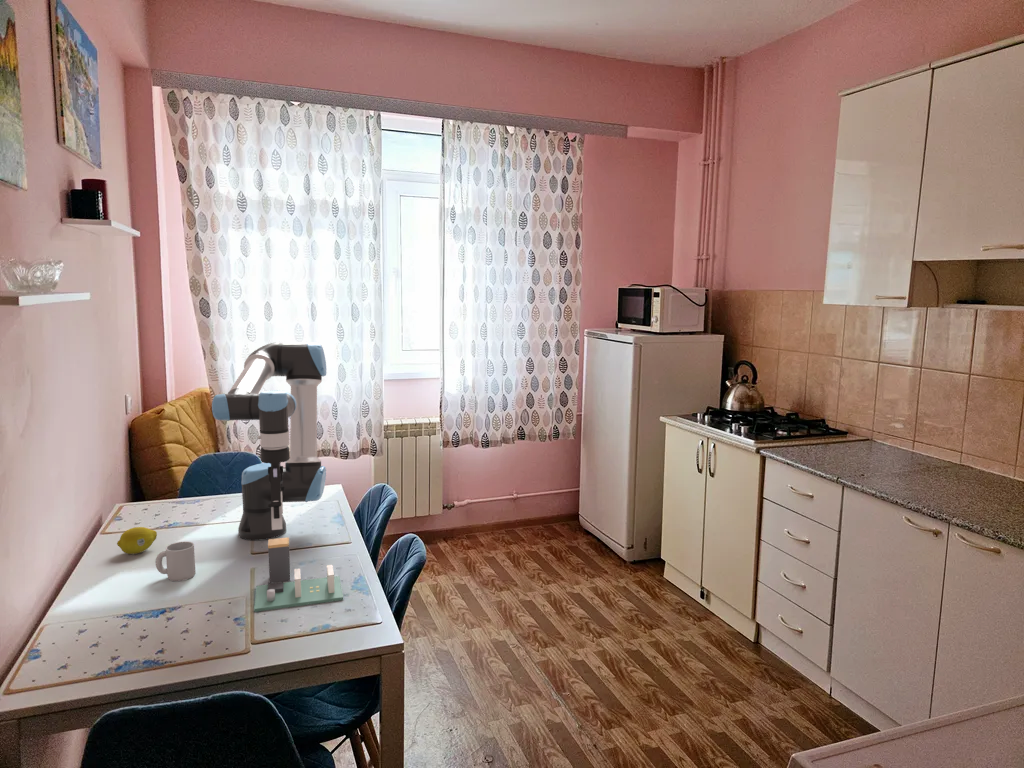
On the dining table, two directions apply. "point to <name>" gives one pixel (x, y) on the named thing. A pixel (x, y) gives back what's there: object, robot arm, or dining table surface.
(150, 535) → the lemon
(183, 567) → the cup
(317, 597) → the board
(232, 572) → the dining table surface
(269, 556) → the plug
